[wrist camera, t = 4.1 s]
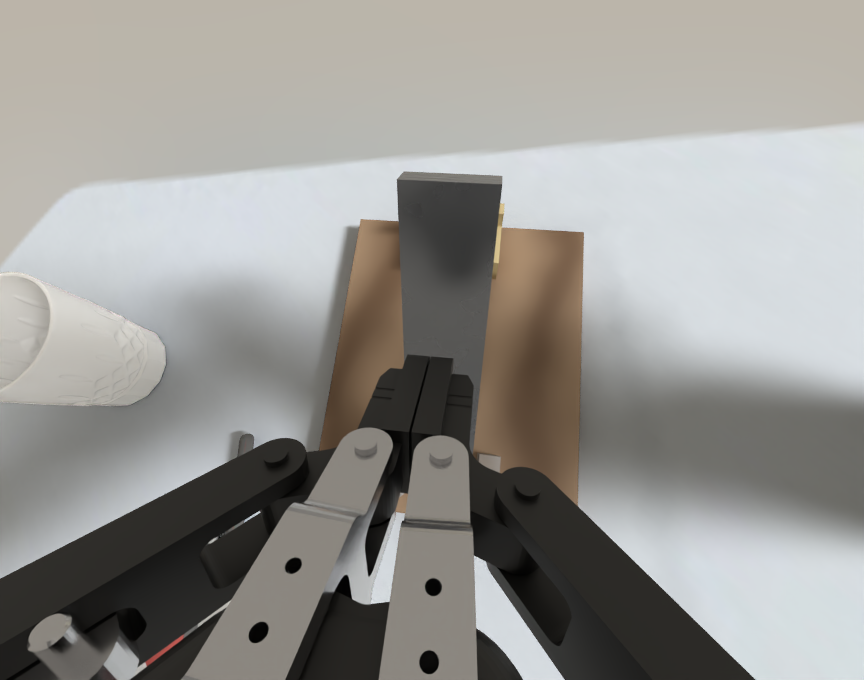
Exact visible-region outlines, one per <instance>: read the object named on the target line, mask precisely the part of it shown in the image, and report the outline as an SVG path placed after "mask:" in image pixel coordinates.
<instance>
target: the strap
mask: <svg viewBox="0 0 864 680" xmlns="http://www.w3.org/2000/svg"><path fill="white" fill-rule="evenodd" d="M501 190H502V176H491V175H469V174H446V173H424V172H403V173H402V174H401V176H400V177H399V178H398V179H397V192H398V218H399V244H400V269H401V295H402V320H403V346H404V362H405V359H406V357H407V355H408V354H410V355H421V356H430V359H431V356H433V357H444V358H453V374H461V375H468V376H469V378H470V380H471V381H472V383H473V385H474V390H473V403H472V416H471V429H470V450H471V452H472V454H473V448H474V438H475V429H476V420H477V411H478V402H479V392H480V383H481V374H482V365H483V356H484V346H485V337H486V328H487V319H488V310H489V300H490V291H491V282H492V273H493V264H494V254H495V245H496V236H497V227H498V218H499V208H500V199H501Z"/></svg>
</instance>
